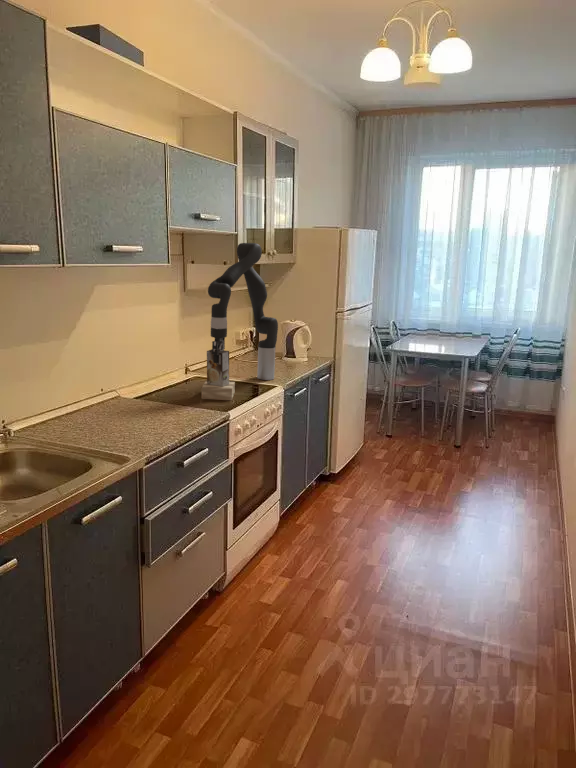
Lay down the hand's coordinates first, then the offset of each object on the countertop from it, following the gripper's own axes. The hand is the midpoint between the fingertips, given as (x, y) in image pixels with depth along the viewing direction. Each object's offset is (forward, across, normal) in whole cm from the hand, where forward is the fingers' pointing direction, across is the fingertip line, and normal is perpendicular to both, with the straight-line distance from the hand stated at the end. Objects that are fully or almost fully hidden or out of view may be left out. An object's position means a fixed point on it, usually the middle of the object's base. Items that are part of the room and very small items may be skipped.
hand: (218, 361), depth 265 cm
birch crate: (+17, 0, 0) cm, 17 cm away
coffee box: (+11, 0, 0) cm, 11 cm away
